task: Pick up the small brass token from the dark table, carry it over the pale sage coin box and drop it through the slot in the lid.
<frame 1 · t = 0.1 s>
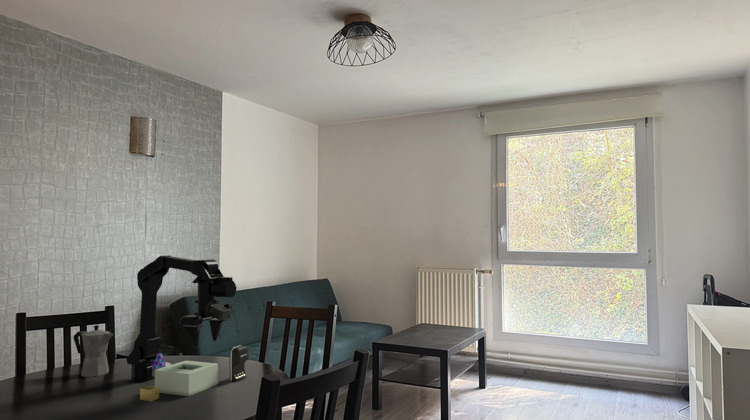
hand: (205, 343, 168), 15 cm above the table, tool pointing down, fingers open, 9 cm apart
coffeepot: (92, 374, 186), on the table
pudding: (154, 368, 196), on the table
battery charger: (239, 379, 177), on the table
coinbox: (186, 388, 167), on the table
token: (149, 399, 156), on the table
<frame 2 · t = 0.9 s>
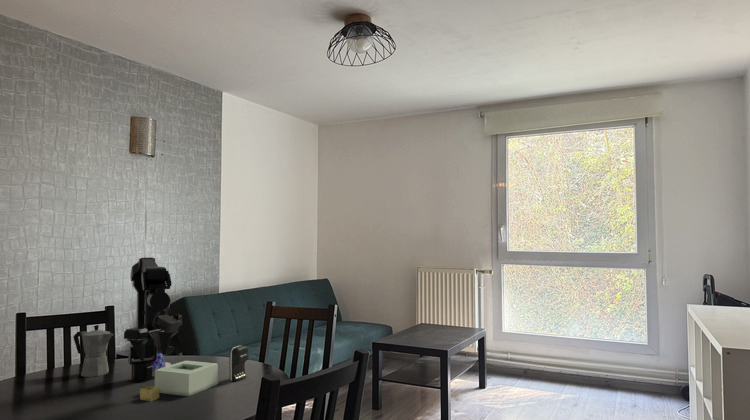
hand: (153, 357, 157), 13 cm above the table, tool pointing down, fingers open, 9 cm apart
nothing on the table moved.
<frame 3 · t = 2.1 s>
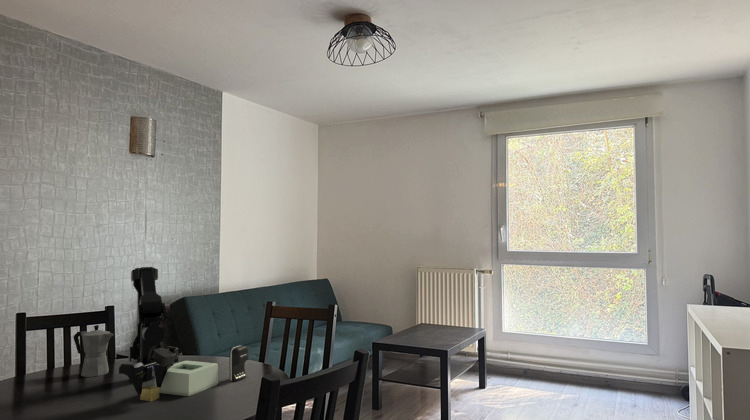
hand: (149, 391, 155), 2 cm above the table, tool pointing down, fingers open, 7 cm apart
nothing on the table moved.
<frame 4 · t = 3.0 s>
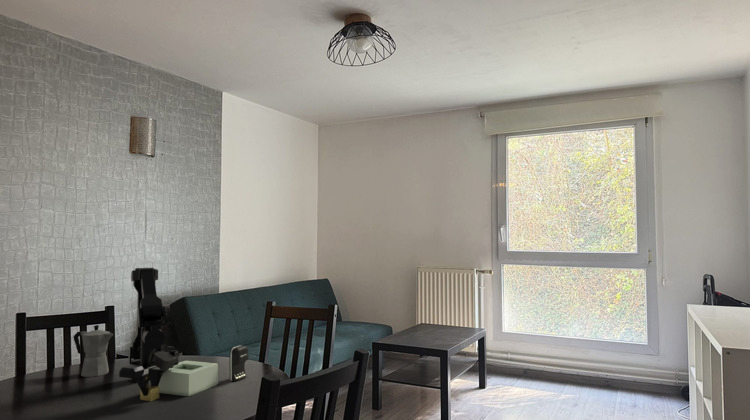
hand: (149, 394, 156), 1 cm above the table, tool pointing down, fingers closed on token, 3 cm apart
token: (149, 398, 156), on the table, touching gripper
everything else where it was.
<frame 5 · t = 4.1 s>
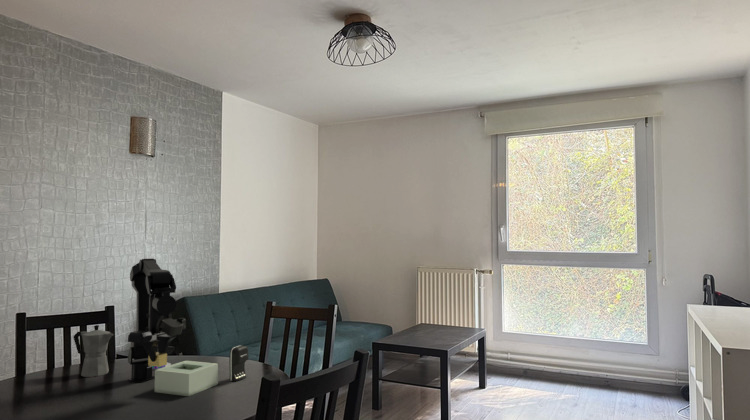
hand: (157, 360, 159), 11 cm above the table, tool pointing down, fingers closed on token, 3 cm apart
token: (157, 364, 159), point 10 cm above the table, touching gripper
everything else where it was.
when the fingers open (9 cm above the table, at t = 5.2 s): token drops 7 cm, resting on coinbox.
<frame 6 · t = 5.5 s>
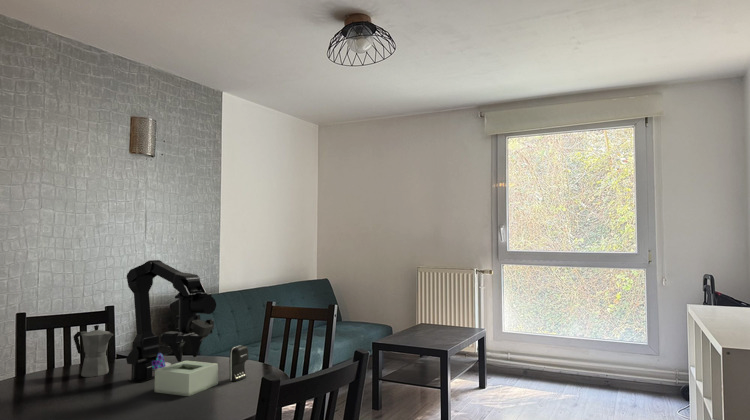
hand: (187, 359, 167), 9 cm above the table, tool pointing down, fingers open, 7 cm apart
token: (186, 385, 167), point 1 cm above the table, touching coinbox
everything else where it was.
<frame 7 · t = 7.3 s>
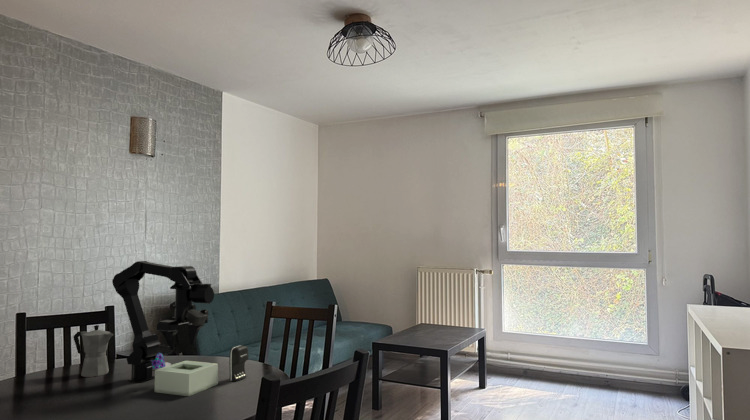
hand: (182, 347, 174), 12 cm above the table, tool pointing down, fingers open, 9 cm apart
nothing on the table moved.
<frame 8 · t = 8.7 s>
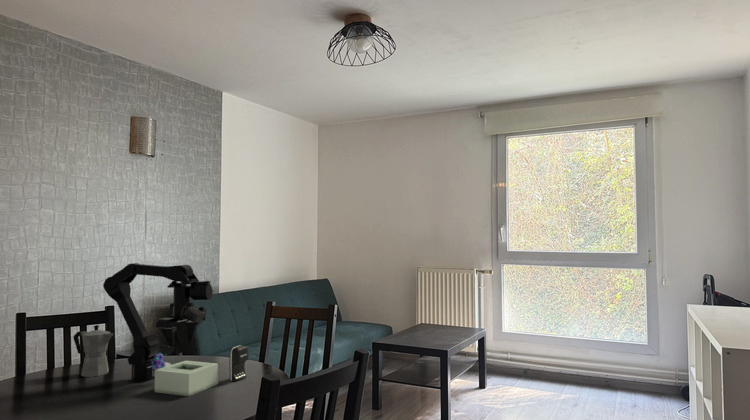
hand: (181, 344, 177), 13 cm above the table, tool pointing down, fingers open, 9 cm apart
nothing on the table moved.
at the end: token inside the target area on the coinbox (0.0 cm from its centre), point 0.8 cm above the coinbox's base; the gripper is holding nothing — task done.
